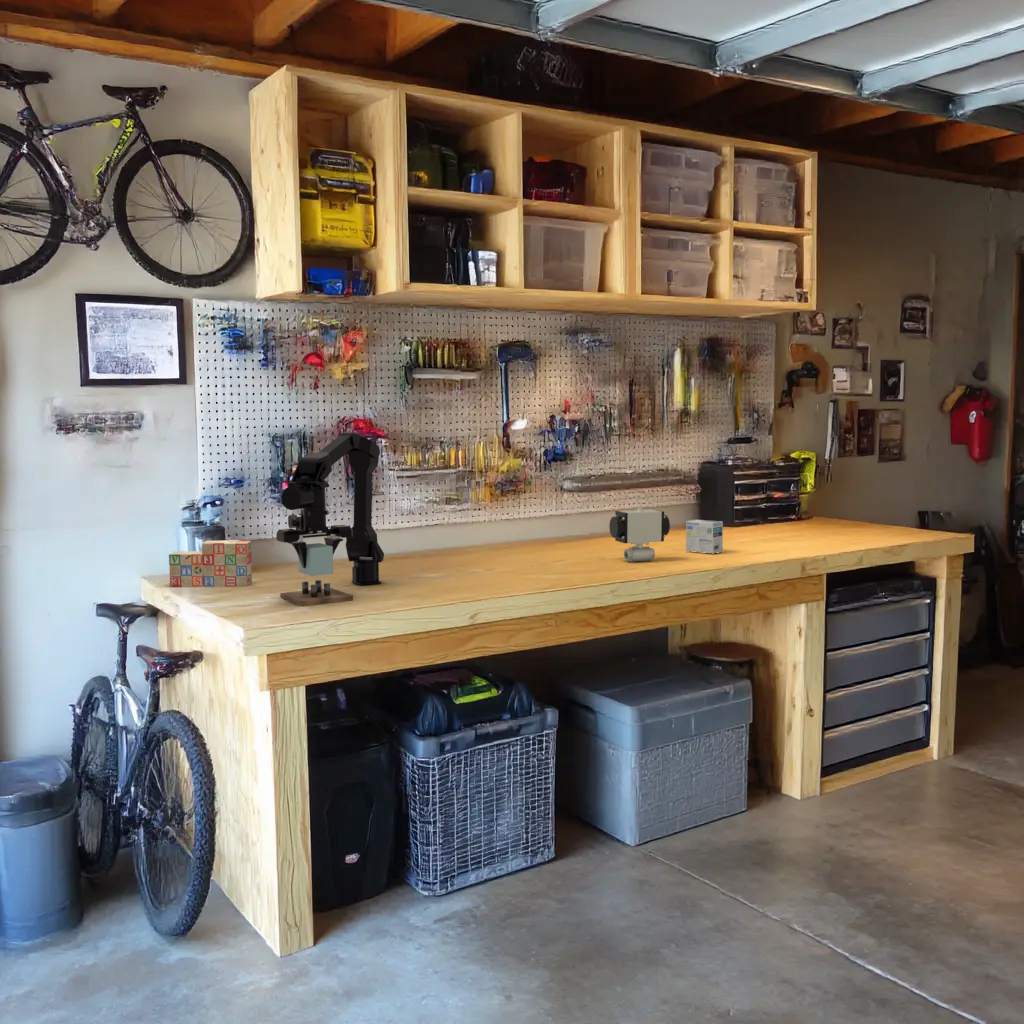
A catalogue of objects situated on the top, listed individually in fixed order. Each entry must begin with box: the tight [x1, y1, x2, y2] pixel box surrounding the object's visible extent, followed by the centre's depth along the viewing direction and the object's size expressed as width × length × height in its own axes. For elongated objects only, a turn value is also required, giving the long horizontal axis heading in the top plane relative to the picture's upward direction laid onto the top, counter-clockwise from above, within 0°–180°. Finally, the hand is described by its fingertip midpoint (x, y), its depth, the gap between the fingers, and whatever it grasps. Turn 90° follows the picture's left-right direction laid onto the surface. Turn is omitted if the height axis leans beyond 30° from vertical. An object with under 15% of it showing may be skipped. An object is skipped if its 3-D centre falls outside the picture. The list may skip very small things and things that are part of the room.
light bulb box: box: [685, 519, 724, 553], centre depth 341 cm, size 11×7×11 cm, turn 49°
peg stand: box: [279, 579, 354, 607], centre depth 260 cm, size 14×14×4 cm
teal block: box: [298, 542, 334, 577], centre depth 260 cm, size 6×8×7 cm
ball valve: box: [608, 505, 671, 563], centre depth 322 cm, size 18×8×18 cm, turn 108°
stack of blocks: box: [168, 539, 253, 588], centre depth 282 cm, size 21×6×12 cm, turn 92°
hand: (315, 566), depth 260 cm, fingers closed on teal block, 6 cm apart
